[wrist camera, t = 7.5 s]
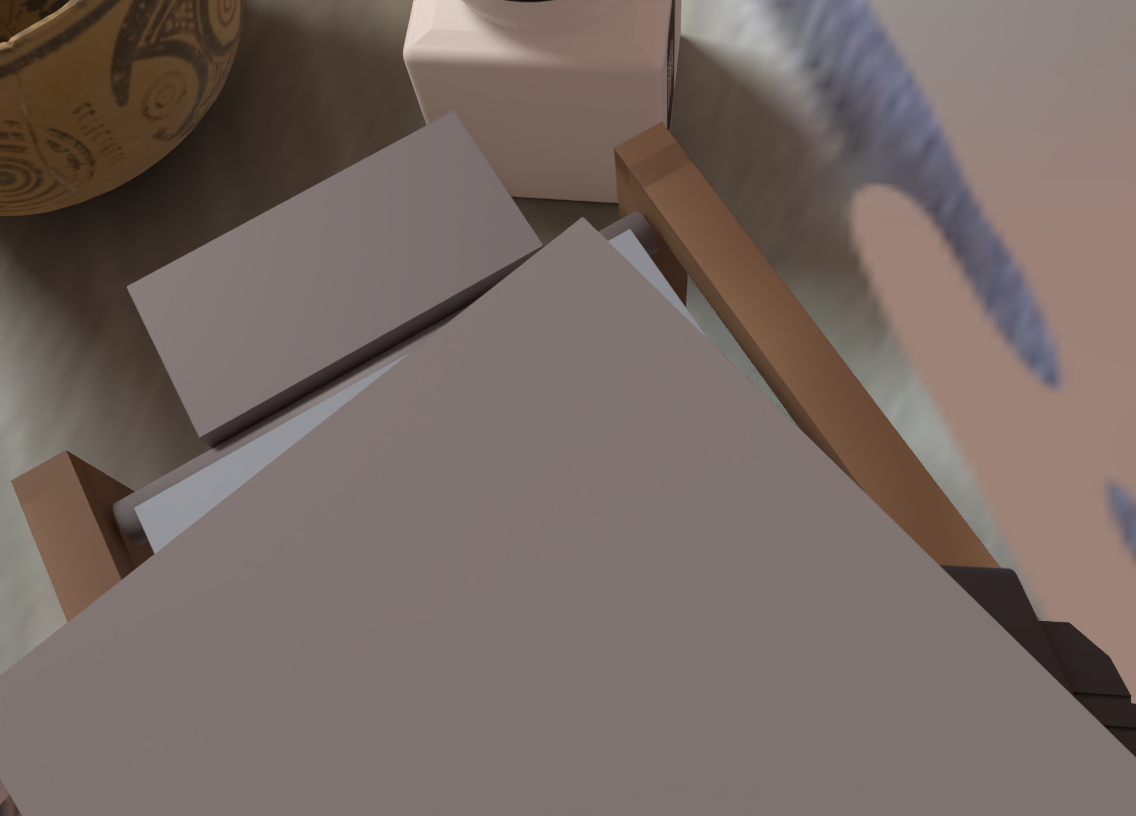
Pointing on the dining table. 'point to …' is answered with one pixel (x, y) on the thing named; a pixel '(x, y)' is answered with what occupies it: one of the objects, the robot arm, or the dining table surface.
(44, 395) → the dining table surface
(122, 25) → the ceramic bowl
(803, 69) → the dining table surface
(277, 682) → the stone
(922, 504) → the frame
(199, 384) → the trapdoor
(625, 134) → the container
